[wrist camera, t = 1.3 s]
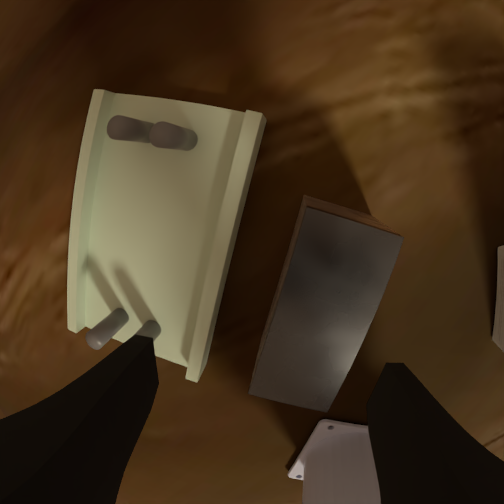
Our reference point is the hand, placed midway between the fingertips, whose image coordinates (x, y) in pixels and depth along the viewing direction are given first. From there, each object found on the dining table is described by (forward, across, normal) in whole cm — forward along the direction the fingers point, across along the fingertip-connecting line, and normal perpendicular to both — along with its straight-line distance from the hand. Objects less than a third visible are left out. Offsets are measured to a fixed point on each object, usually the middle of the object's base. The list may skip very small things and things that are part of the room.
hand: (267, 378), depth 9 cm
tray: (+10, +7, 0) cm, 13 cm away
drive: (+10, -2, +1) cm, 10 cm away
